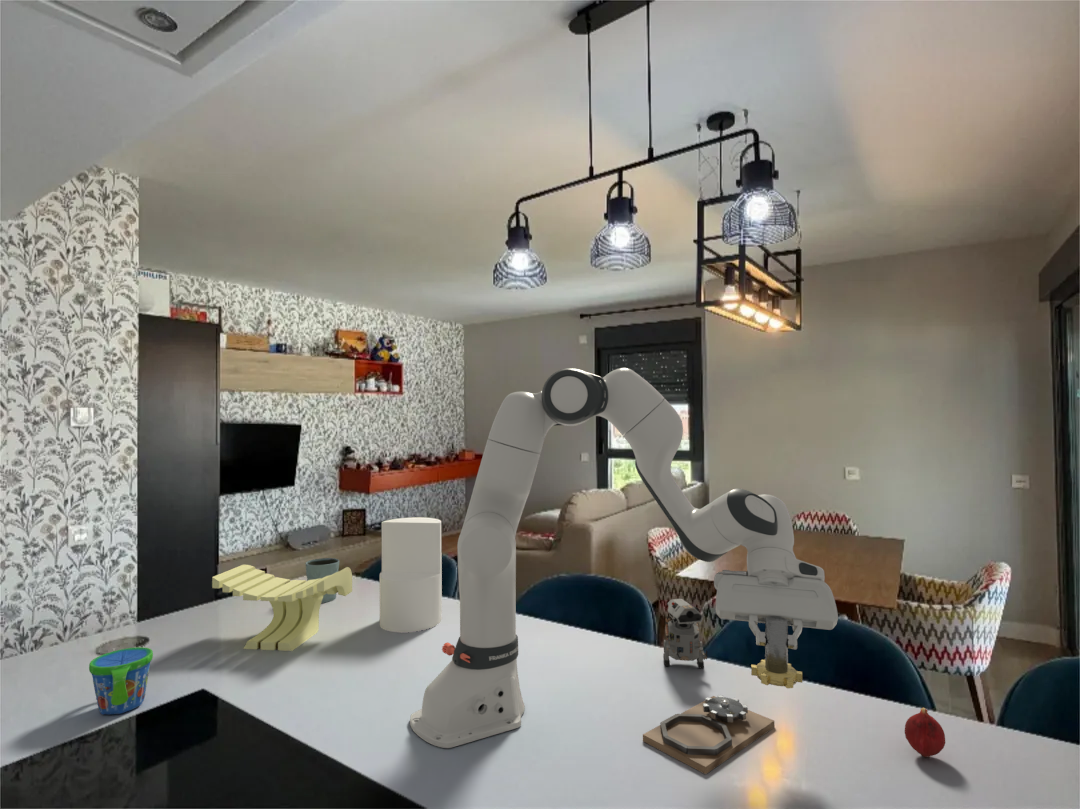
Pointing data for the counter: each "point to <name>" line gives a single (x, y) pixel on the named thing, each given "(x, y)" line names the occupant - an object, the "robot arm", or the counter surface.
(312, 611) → the slatted curved stool
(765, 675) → the gear
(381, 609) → the cylinder
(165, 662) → the counter surface
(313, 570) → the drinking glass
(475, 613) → the robot arm
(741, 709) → the gear
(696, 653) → the figurine
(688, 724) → the gear board
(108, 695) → the snack cup
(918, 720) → the onion
